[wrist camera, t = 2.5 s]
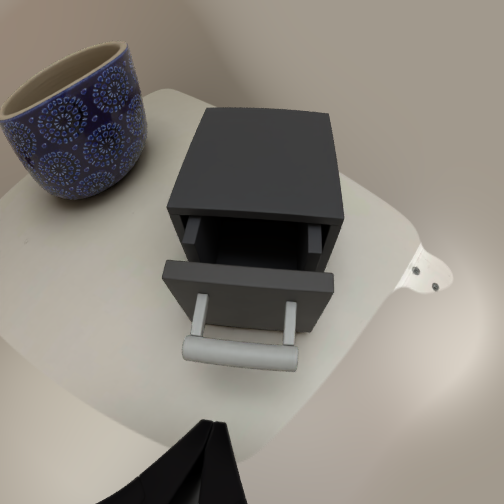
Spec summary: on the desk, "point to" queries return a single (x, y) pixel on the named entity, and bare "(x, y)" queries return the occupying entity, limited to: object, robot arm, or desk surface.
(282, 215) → the cabinet
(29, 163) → the planter
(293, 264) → the drawer
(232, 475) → the robot arm
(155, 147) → the desk surface
